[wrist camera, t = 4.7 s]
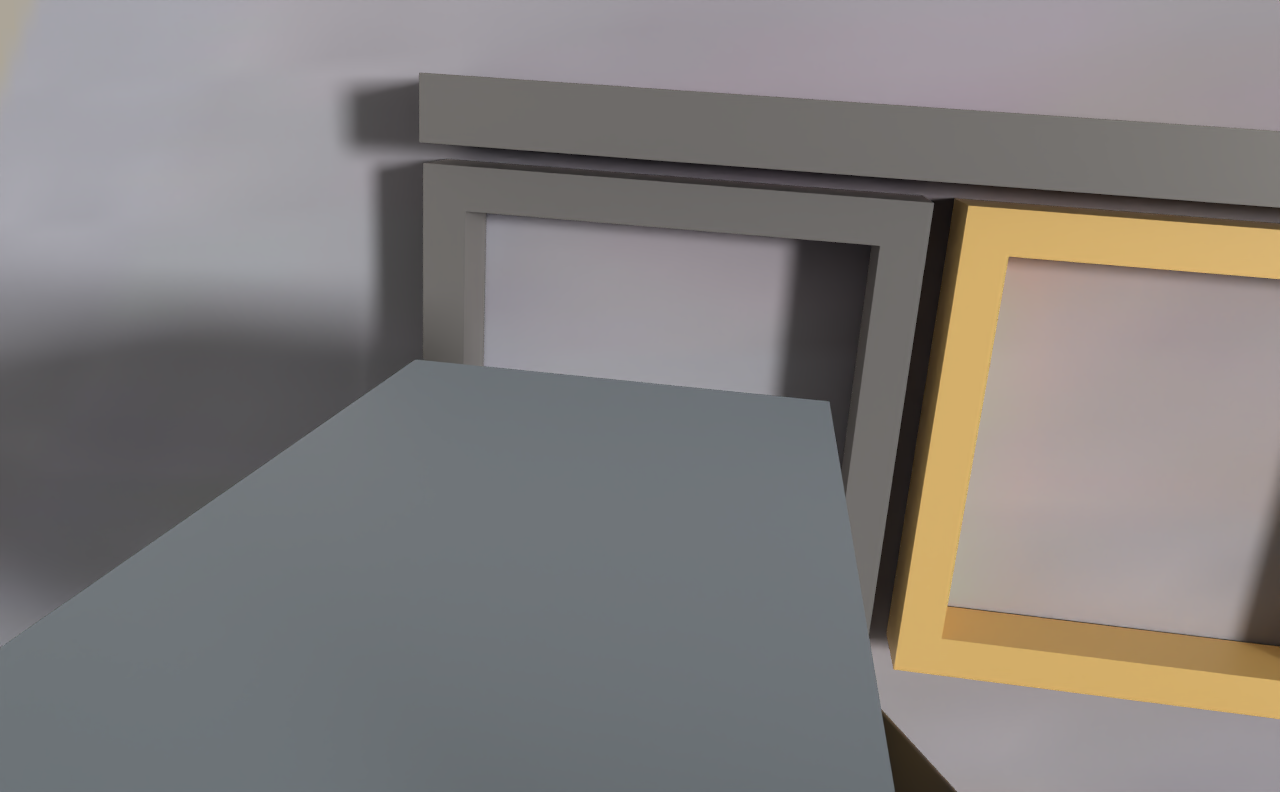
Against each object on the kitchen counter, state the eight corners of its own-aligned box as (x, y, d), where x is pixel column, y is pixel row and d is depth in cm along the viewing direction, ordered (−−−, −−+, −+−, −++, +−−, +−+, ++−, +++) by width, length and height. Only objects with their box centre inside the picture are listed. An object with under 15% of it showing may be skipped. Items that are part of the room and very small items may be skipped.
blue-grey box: (783, 765, 12) (787, 1846, 4) (414, 712, 12) (-125, 1610, 5) (830, 401, 10) (945, 1093, 3) (415, 359, 11) (-320, 869, 4)
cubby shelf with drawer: (1344, 690, 17) (1407, 756, 16) (444, 578, 19) (410, 625, 17) (1517, 147, 15) (1616, 154, 13) (448, 75, 16) (409, 71, 15)
